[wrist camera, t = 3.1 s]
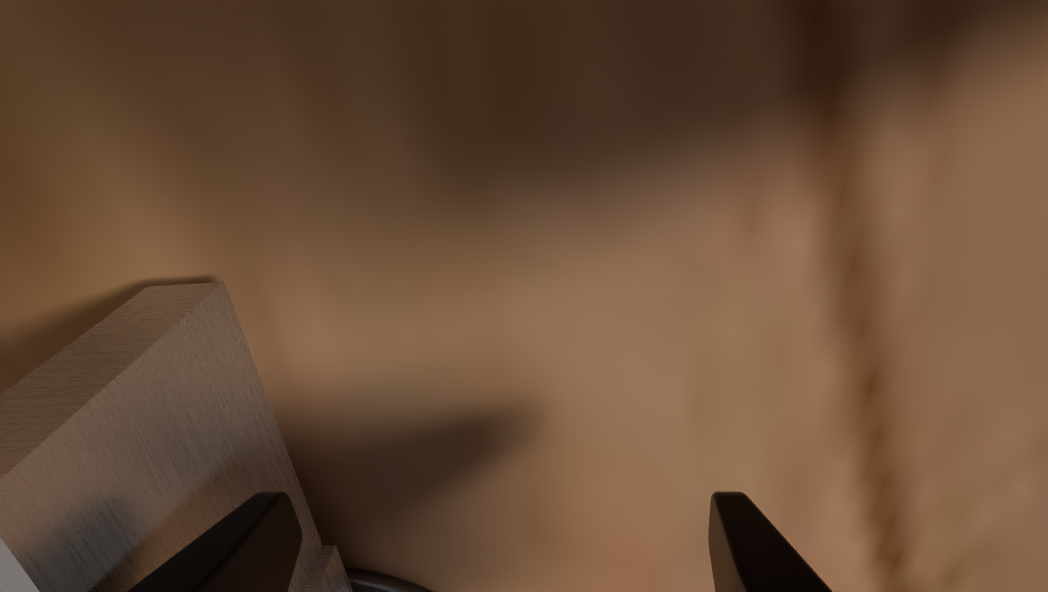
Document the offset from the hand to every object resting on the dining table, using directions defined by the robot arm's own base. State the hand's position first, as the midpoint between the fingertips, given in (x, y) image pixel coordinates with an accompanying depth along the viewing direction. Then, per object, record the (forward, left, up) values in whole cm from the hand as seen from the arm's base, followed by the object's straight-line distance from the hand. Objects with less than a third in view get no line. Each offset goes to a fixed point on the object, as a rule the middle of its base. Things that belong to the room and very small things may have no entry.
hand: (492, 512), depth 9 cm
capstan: (+9, +5, -3) cm, 11 cm away
